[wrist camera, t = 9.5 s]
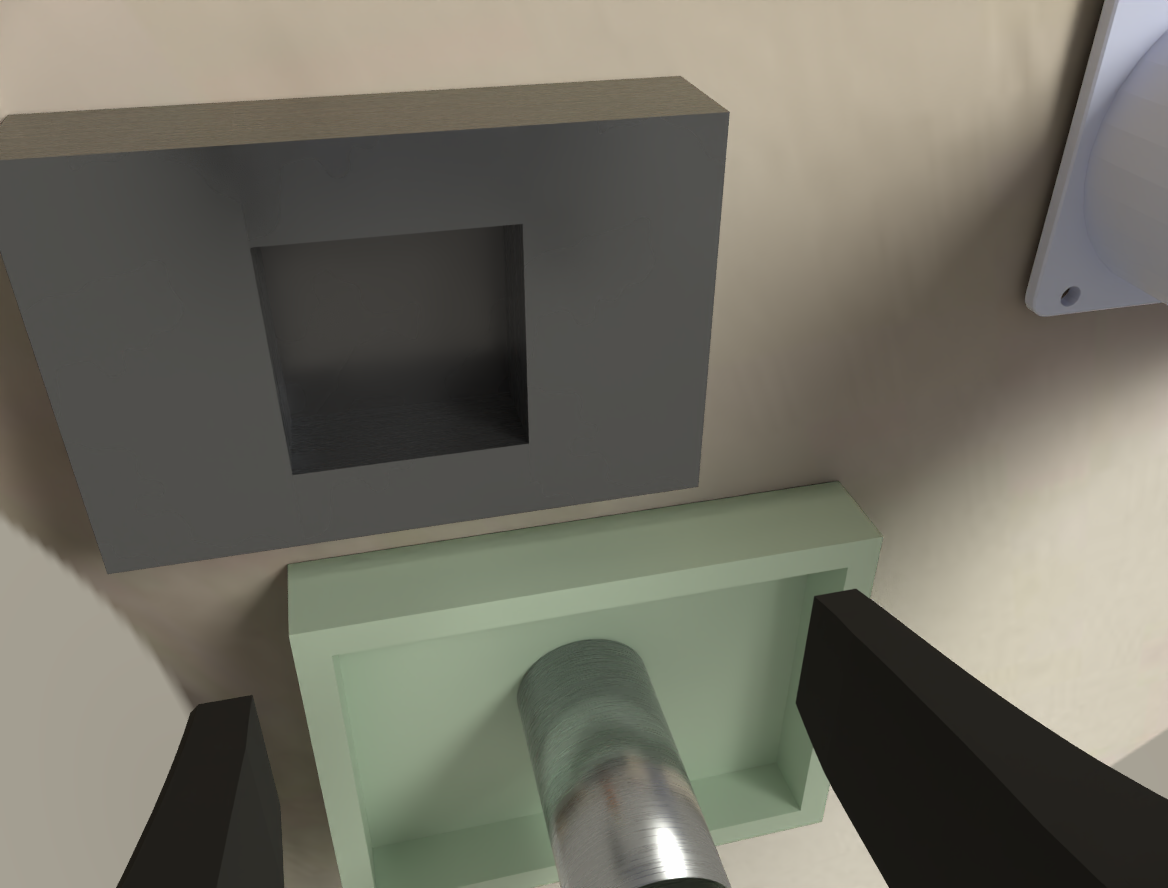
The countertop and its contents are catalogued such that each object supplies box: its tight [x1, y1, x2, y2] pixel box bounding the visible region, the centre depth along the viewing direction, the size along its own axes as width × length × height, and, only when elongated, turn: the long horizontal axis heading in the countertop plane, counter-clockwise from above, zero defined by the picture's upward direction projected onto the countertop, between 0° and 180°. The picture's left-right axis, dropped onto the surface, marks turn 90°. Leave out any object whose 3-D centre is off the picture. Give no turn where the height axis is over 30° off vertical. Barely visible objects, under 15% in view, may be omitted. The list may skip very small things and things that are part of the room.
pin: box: [517, 639, 731, 888], centre depth 24 cm, size 4×4×8 cm
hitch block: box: [0, 76, 730, 574], centre depth 19 cm, size 12×8×3 cm, turn 90°
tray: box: [288, 481, 883, 888], centre depth 27 cm, size 14×11×2 cm
